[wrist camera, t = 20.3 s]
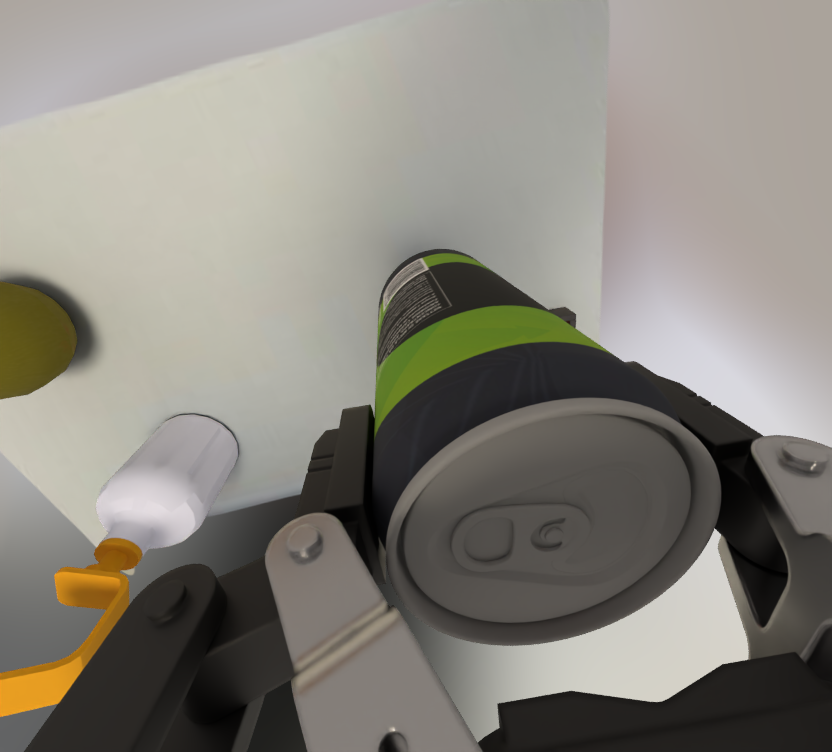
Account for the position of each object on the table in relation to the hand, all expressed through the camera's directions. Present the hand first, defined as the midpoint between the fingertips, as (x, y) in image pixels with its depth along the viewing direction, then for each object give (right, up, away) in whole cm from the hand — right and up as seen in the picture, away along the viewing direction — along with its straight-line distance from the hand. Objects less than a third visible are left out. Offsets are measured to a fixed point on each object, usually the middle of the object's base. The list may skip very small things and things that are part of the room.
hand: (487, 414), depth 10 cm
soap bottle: (-28, -7, +33) cm, 44 cm away
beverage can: (-1, +5, +10) cm, 11 cm away
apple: (-38, +6, +25) cm, 46 cm away
